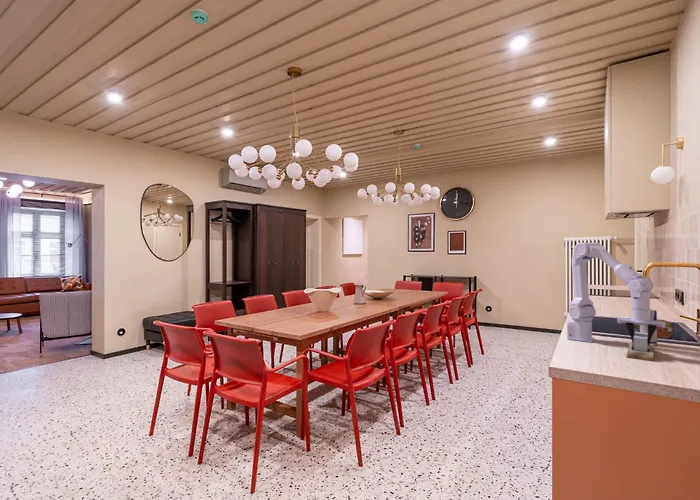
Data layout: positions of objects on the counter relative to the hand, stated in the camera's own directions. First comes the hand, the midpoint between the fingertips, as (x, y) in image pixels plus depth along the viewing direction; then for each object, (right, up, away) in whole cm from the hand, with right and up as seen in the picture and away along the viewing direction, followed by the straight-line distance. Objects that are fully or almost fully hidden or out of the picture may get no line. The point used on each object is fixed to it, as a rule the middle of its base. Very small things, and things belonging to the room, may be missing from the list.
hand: (640, 343), depth 142 cm
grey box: (0, -2, 0) cm, 2 cm away
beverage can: (+14, -4, +14) cm, 21 cm away
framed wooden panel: (0, -4, 0) cm, 4 cm away
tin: (+26, -4, +26) cm, 36 cm away
